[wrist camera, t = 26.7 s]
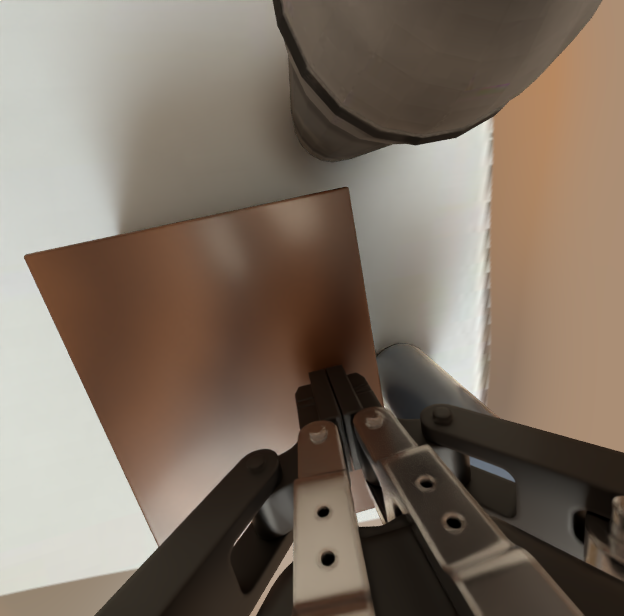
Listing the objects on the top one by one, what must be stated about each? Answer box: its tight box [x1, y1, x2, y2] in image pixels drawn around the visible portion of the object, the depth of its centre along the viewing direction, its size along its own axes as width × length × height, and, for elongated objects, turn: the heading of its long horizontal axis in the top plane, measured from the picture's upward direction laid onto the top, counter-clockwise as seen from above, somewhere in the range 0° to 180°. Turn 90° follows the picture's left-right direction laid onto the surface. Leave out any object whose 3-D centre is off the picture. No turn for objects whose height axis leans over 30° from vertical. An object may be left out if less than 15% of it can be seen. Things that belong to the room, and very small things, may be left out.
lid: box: [24, 187, 384, 547], centre depth 14 cm, size 12×16×1 cm
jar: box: [376, 344, 515, 482], centre depth 19 cm, size 4×4×10 cm
